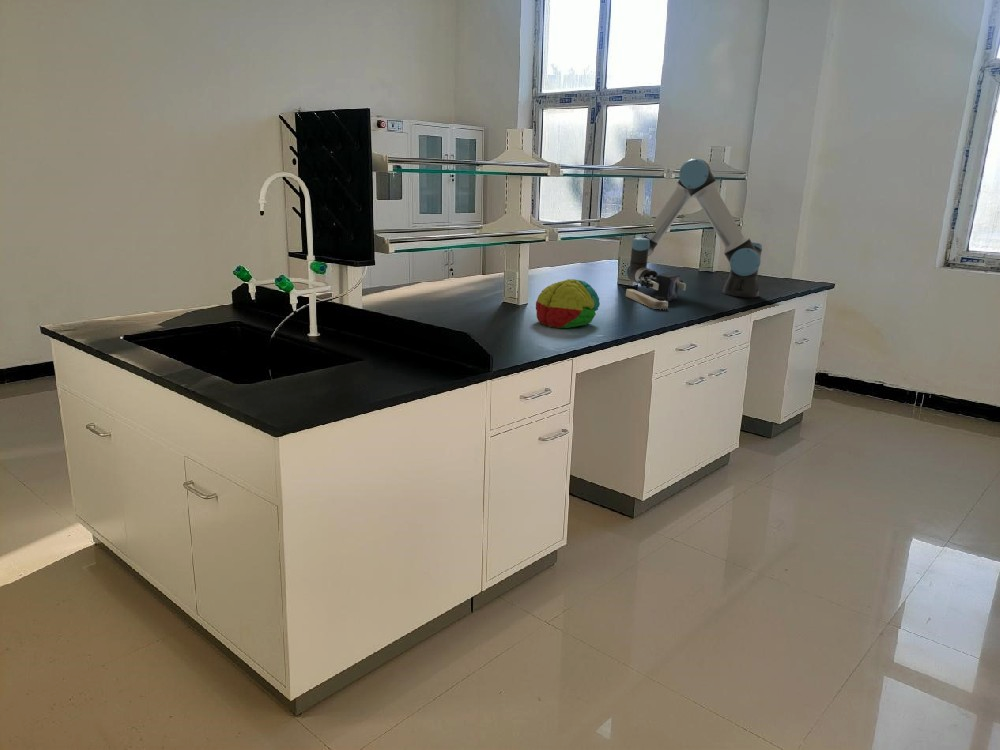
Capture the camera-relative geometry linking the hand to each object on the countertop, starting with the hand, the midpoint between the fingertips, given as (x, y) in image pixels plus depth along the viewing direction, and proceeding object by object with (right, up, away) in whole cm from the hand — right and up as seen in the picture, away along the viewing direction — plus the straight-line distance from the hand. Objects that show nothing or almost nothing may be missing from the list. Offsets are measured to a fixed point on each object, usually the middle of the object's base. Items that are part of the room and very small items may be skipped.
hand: (671, 287), depth 291 cm
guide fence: (-11, -7, -3) cm, 13 cm away
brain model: (-47, -18, -47) cm, 69 cm away
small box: (-1, -5, +5) cm, 7 cm away
